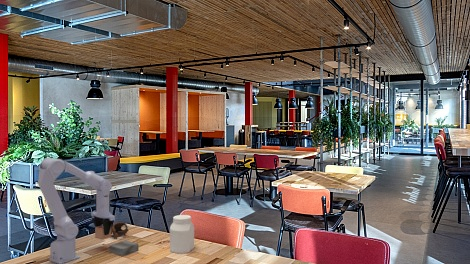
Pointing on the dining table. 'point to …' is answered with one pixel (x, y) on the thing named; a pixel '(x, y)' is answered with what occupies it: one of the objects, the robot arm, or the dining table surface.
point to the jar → (181, 234)
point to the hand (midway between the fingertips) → (102, 233)
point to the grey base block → (123, 248)
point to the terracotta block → (101, 233)
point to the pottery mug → (118, 229)
